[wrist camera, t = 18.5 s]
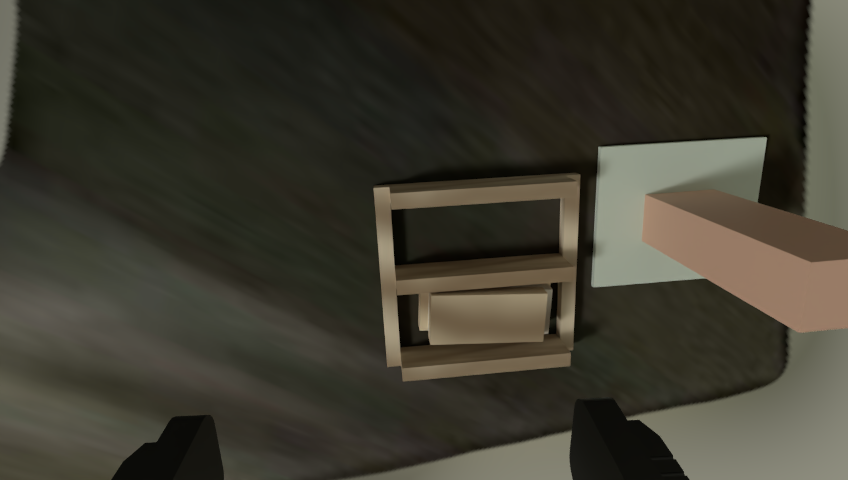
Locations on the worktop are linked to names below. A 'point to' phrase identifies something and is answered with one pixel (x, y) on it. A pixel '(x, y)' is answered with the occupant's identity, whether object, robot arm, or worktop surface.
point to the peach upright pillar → (756, 254)
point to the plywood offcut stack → (486, 315)
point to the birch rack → (479, 275)
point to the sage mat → (652, 174)
